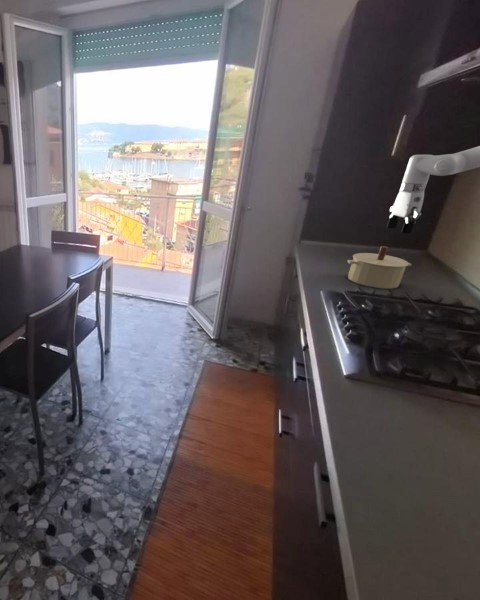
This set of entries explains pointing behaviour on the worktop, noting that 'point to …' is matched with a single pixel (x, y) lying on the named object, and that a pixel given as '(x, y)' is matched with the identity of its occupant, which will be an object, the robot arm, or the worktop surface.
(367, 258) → the lid
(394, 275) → the pot
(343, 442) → the worktop surface
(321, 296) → the worktop surface
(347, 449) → the worktop surface
